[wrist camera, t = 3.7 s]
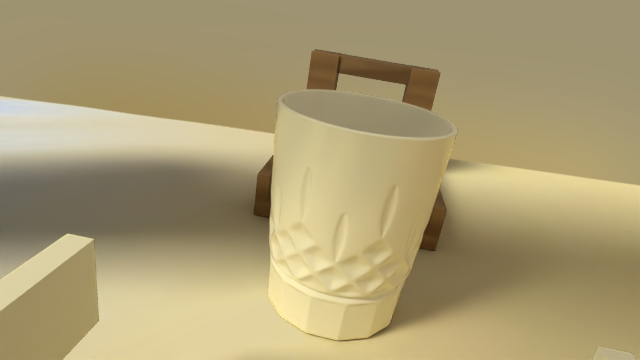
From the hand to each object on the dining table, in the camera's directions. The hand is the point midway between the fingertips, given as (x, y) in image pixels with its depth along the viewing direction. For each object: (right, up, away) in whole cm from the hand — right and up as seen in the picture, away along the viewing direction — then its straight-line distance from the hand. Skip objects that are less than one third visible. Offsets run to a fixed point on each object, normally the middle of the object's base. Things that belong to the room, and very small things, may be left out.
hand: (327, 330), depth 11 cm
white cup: (0, -2, +11) cm, 11 cm away
